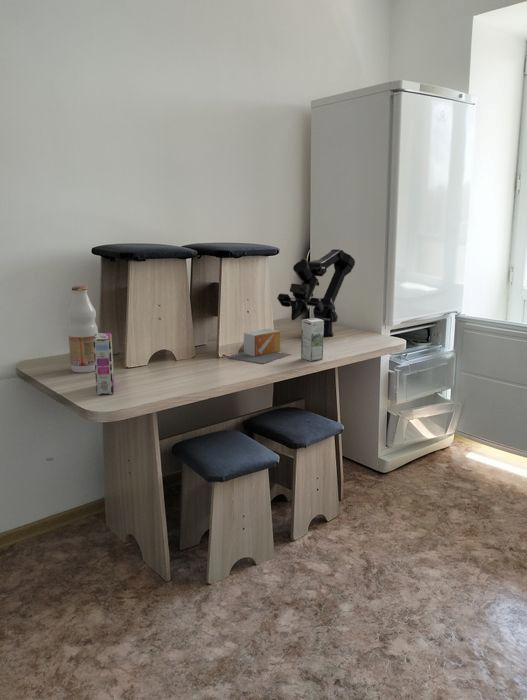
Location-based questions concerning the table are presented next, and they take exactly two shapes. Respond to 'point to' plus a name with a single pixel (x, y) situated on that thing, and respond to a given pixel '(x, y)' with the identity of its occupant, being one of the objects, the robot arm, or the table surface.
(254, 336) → the small box
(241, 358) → the felt mat
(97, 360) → the candy bar box
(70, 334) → the fruit juice
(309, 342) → the syrup box
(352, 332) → the table surface
